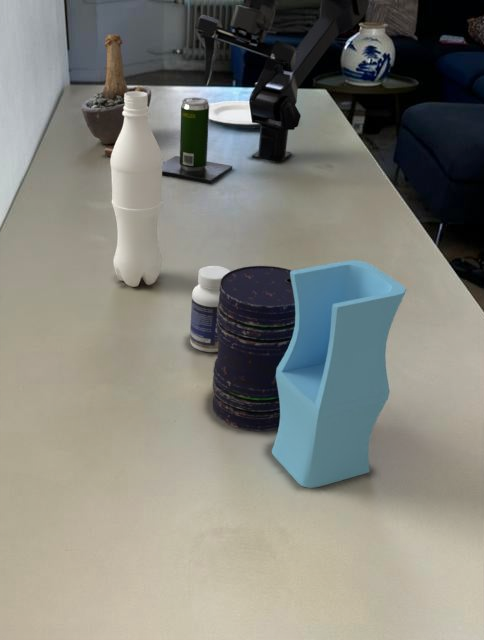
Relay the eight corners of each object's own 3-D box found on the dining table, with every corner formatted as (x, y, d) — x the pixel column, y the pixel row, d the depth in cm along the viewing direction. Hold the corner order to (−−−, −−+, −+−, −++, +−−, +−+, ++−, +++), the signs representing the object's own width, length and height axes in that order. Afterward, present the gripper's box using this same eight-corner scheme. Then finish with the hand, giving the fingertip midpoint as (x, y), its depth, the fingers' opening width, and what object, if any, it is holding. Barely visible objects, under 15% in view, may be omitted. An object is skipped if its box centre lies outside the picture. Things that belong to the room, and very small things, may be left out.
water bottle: (168, 273, 116) (171, 90, 99) (152, 293, 110) (152, 103, 94) (124, 266, 117) (119, 85, 101) (106, 285, 112) (99, 98, 96)
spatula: (232, 170, 153) (233, 159, 152) (210, 184, 146) (211, 173, 145) (119, 149, 162) (119, 139, 161) (94, 162, 156) (94, 152, 155)
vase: (266, 448, 82) (289, 270, 69) (328, 431, 85) (361, 257, 71) (304, 490, 77) (337, 307, 64) (369, 472, 79) (413, 291, 66)
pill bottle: (218, 357, 97) (223, 285, 90) (182, 346, 99) (184, 274, 92) (238, 340, 100) (244, 269, 94) (202, 329, 102) (206, 259, 96)
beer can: (202, 172, 149) (205, 105, 141) (176, 170, 150) (177, 102, 142) (209, 164, 153) (212, 98, 145) (183, 161, 154) (185, 96, 146)
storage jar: (235, 439, 83) (246, 314, 74) (196, 394, 90) (202, 274, 80) (312, 419, 86) (333, 296, 77) (269, 377, 93) (284, 259, 83)
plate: (291, 133, 173) (292, 123, 172) (200, 131, 173) (200, 122, 172) (281, 109, 189) (282, 100, 187) (198, 108, 189) (198, 99, 188)
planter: (151, 129, 174) (150, 27, 161) (153, 151, 162) (153, 42, 149) (86, 129, 174) (80, 27, 161) (83, 151, 161) (77, 42, 148)
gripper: (207, -36, 130) (174, 61, 134) (308, -1, 128) (273, 96, 133) (215, -8, 141) (185, 81, 145) (309, 25, 139) (276, 114, 143)
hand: (228, 92), depth 141 cm, fingers open, 9 cm apart
